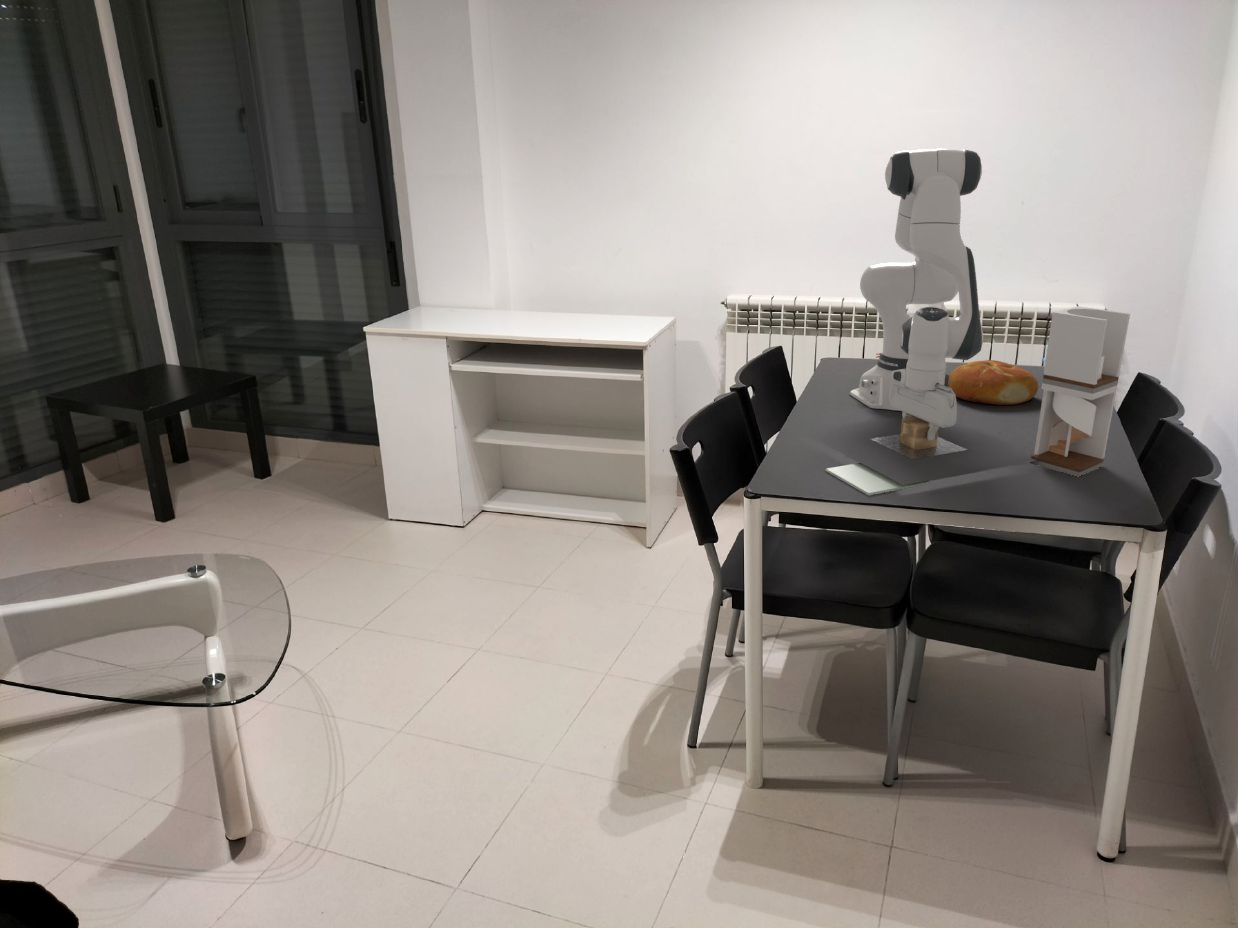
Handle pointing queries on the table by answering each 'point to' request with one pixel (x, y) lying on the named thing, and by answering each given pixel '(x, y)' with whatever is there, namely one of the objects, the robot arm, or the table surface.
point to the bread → (993, 383)
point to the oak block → (916, 433)
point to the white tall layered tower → (1079, 388)
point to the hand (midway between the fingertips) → (919, 434)
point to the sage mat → (868, 479)
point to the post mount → (911, 453)
